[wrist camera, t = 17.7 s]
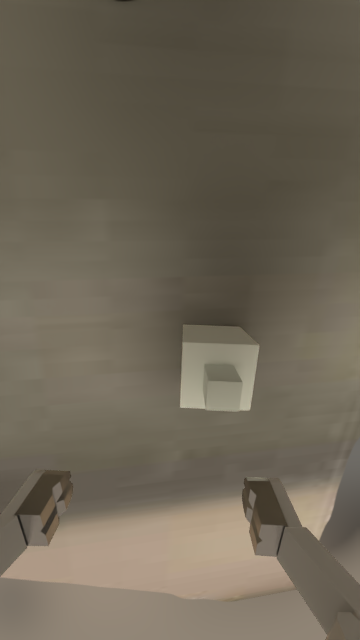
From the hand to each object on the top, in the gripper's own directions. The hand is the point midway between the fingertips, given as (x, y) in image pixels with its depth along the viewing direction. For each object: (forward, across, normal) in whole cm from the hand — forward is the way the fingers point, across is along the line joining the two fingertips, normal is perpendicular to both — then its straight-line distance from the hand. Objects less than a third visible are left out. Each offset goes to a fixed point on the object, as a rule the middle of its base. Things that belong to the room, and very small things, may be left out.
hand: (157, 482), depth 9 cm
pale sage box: (+25, -6, +5) cm, 26 cm away
